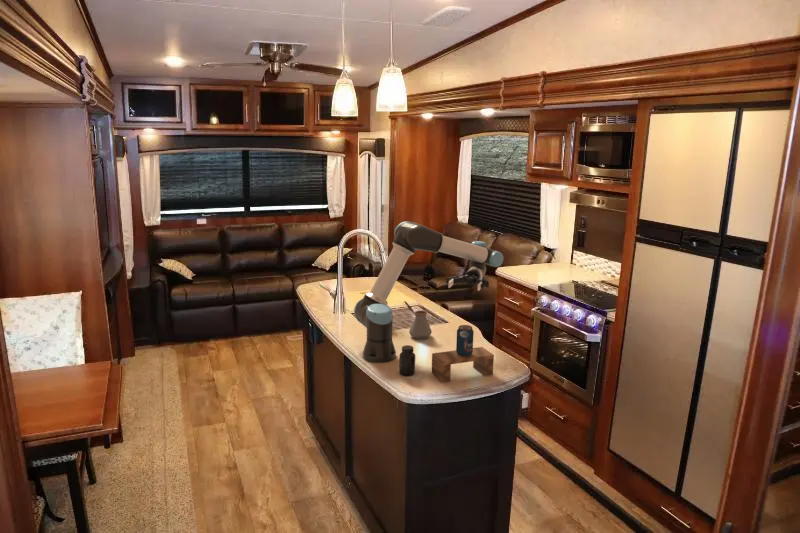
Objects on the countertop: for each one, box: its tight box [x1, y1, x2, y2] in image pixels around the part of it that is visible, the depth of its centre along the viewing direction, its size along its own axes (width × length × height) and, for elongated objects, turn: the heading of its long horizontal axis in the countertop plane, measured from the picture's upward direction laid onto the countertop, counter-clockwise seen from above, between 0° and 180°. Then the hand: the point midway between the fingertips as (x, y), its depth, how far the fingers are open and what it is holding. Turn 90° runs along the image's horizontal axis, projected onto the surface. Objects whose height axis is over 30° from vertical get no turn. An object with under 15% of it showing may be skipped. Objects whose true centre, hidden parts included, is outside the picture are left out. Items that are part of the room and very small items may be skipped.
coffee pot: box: [402, 301, 433, 340], centre depth 279 cm, size 21×12×15 cm, turn 32°
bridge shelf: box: [431, 346, 495, 384], centre depth 231 cm, size 24×10×9 cm, turn 111°
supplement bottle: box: [398, 344, 416, 378], centre depth 230 cm, size 7×7×12 cm
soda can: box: [455, 324, 475, 357], centre depth 229 cm, size 7×7×12 cm
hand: (463, 286), depth 249 cm, fingers open, 13 cm apart
